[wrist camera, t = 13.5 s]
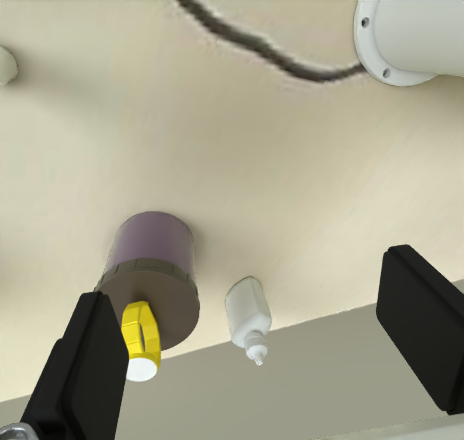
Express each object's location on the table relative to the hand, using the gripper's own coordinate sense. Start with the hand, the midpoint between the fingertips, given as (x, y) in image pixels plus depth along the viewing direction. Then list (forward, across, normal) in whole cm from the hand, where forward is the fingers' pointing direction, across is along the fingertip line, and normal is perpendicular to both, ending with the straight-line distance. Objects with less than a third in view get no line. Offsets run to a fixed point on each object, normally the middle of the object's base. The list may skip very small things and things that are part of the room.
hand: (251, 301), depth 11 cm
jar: (+28, +8, +14) cm, 32 cm away
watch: (+16, +8, +14) cm, 22 cm away
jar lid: (+16, +8, +14) cm, 23 cm away
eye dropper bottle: (+28, -2, +23) cm, 36 cm away
